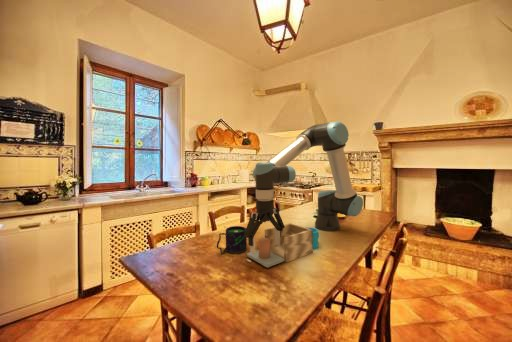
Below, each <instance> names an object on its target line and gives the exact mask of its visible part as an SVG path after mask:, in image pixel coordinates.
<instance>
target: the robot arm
mask: <svg viewBox="0 0 512 342" xmlns="http://www.w3.org/2000/svg"><path fill="white" fill-rule="evenodd" d="M349 137H350V136H349V130H348V127H347V126H346V125H345V124H344V123H343V122H341V121H331V122H324V123H319V124H314V125H312V126H310V127H308V128H306V129H304V131H302V132H301V133H299V134H298V135H297V136H296V137H295V139H294V141H292V142H291V143H289V144H288V145H287V146H286V147H284V148H283V149H282V150H281V151H279V152H278V153H277V154H276V155H274V156H273V157H272V158H270V159H269V160H267V161H265V162H256V163H255V166H254V168H253V171H252V174H253V175H252V176H253V178H254V179H255V180H254V181H255V199H256V200H255V209H256V212H250V214H249V219H248V222H247V225H246V227H245V228H246V230H245V233H244V236H245V237H247V243H248V246H249V253H252V254H255V251H256V237H255V235H256V233H257V232H258V230H259V228H260V227H261V225H262V224H263V223H266V222H270V223H271V224H272V226H273V228H274V227H275V228H276V229H277V230H275V245H278V246H280V237H281V231H283V228H284V227H285V226H284V225H285V224H284V222H283V219H282V217H281V214H280V209H279V208H277V207H276V208H275V201H274V197H275V194H274V193H275V191H274V185H278V184H289V183H292V182H294V181H295V179H296V177H297V176H296V175H297V174H296V170H295V168H294V167H293V166H292V165H289V164H290V163H291V162H292V161H293V160H295V159H296V158H297V157H298V156H300V155H301V154H302V153H303V152H305V151H308V150H309V149H311V148H313V147H318V146H319V147H320V146H321V147H322V150H323V152H325V153H326V154H327V157H328V158H327V159H328V163H329V166H330V172H331V175H332V178H333V184H334V186H335V190H332V189H331V190H322V191H321V190H320V191H319V192H318V193H317V216H316V219H315V221H314V228H315V229H317V230H320V231H325V232H336V231H337V232H338V231H339V230H341V223H340V220H339V216H338V214H340V215H345V216H347V217H357V216H359V215H360V214H361V212H362V210H363V206H364V199H363V196H360V195H358V193H357V190H356V189H354V188H353V185H352V184H353V183H352V182H351V181H352V180H351V176H350V171H349V166H348V164H347V163H348V162H347V159H346V154H345V150H344V149H345V147H346V146H347V143H348V141H349ZM273 215H274V216H273Z"/></svg>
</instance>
